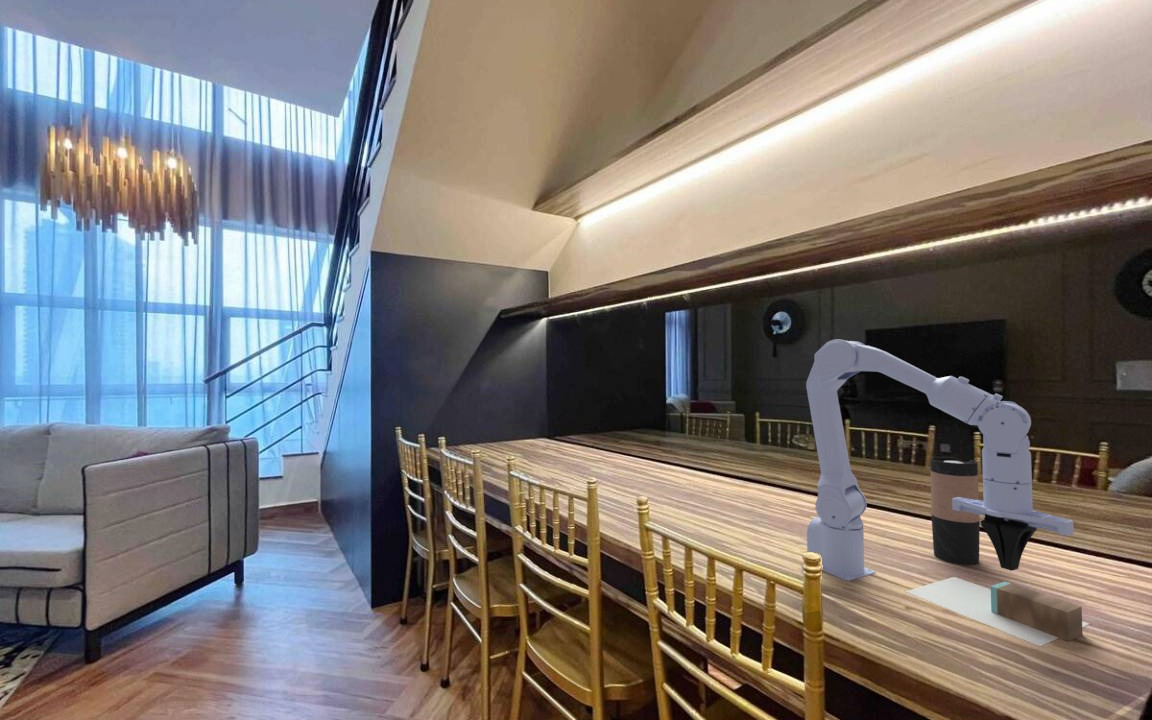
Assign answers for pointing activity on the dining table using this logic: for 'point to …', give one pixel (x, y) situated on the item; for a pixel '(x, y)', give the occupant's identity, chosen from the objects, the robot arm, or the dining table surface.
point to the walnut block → (1037, 610)
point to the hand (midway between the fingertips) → (1009, 568)
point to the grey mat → (977, 607)
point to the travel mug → (954, 511)
